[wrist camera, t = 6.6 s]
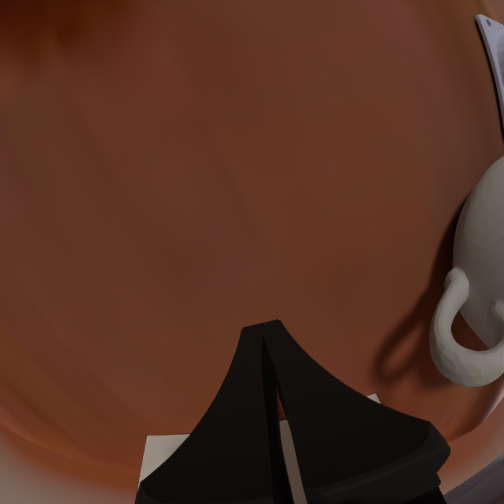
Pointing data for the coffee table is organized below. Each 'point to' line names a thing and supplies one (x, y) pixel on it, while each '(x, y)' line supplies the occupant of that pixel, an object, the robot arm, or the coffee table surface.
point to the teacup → (475, 287)
